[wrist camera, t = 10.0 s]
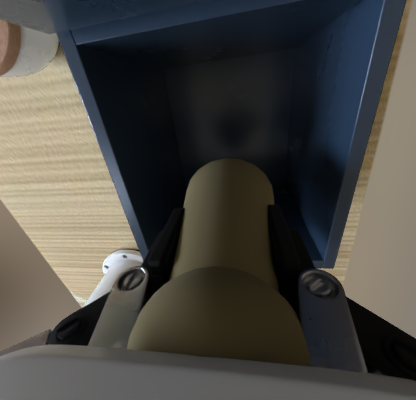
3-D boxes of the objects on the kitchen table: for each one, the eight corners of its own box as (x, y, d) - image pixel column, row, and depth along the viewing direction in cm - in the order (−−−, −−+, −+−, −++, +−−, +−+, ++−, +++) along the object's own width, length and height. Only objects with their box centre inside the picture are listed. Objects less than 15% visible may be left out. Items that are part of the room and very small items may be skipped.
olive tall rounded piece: (293, 187, 13) (470, 492, 3) (241, 245, 15) (249, 493, 6) (211, 139, 12) (107, 357, 2) (173, 211, 15) (57, 434, 5)
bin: (288, 186, 26) (334, 268, 14) (183, 191, 28) (145, 266, 16) (302, 38, 18) (422, -55, 7) (157, 62, 21) (53, 26, 9)
